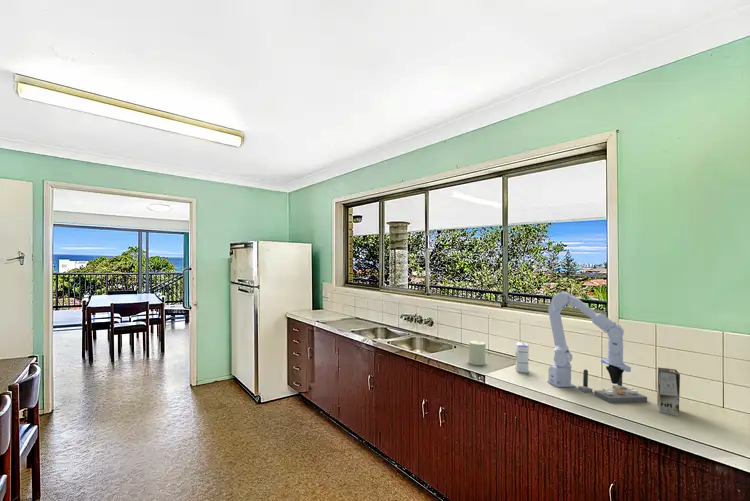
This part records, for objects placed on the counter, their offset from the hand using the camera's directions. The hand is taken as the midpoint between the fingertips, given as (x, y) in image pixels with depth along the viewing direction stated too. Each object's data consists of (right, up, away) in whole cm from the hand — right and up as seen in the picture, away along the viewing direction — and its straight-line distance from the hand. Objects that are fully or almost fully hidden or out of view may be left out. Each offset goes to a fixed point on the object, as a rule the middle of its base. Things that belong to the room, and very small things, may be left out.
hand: (614, 383), depth 167 cm
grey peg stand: (-10, -5, +5) cm, 13 cm away
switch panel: (0, -5, -3) cm, 6 cm away
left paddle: (-6, -2, -4) cm, 7 cm away
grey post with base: (+7, -6, +8) cm, 13 cm away
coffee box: (+12, -6, -15) cm, 20 cm away
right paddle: (+6, -3, -2) cm, 7 cm away
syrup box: (-28, -5, +34) cm, 44 cm away
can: (-49, -5, +46) cm, 67 cm away
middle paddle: (0, -3, -3) cm, 4 cm away
